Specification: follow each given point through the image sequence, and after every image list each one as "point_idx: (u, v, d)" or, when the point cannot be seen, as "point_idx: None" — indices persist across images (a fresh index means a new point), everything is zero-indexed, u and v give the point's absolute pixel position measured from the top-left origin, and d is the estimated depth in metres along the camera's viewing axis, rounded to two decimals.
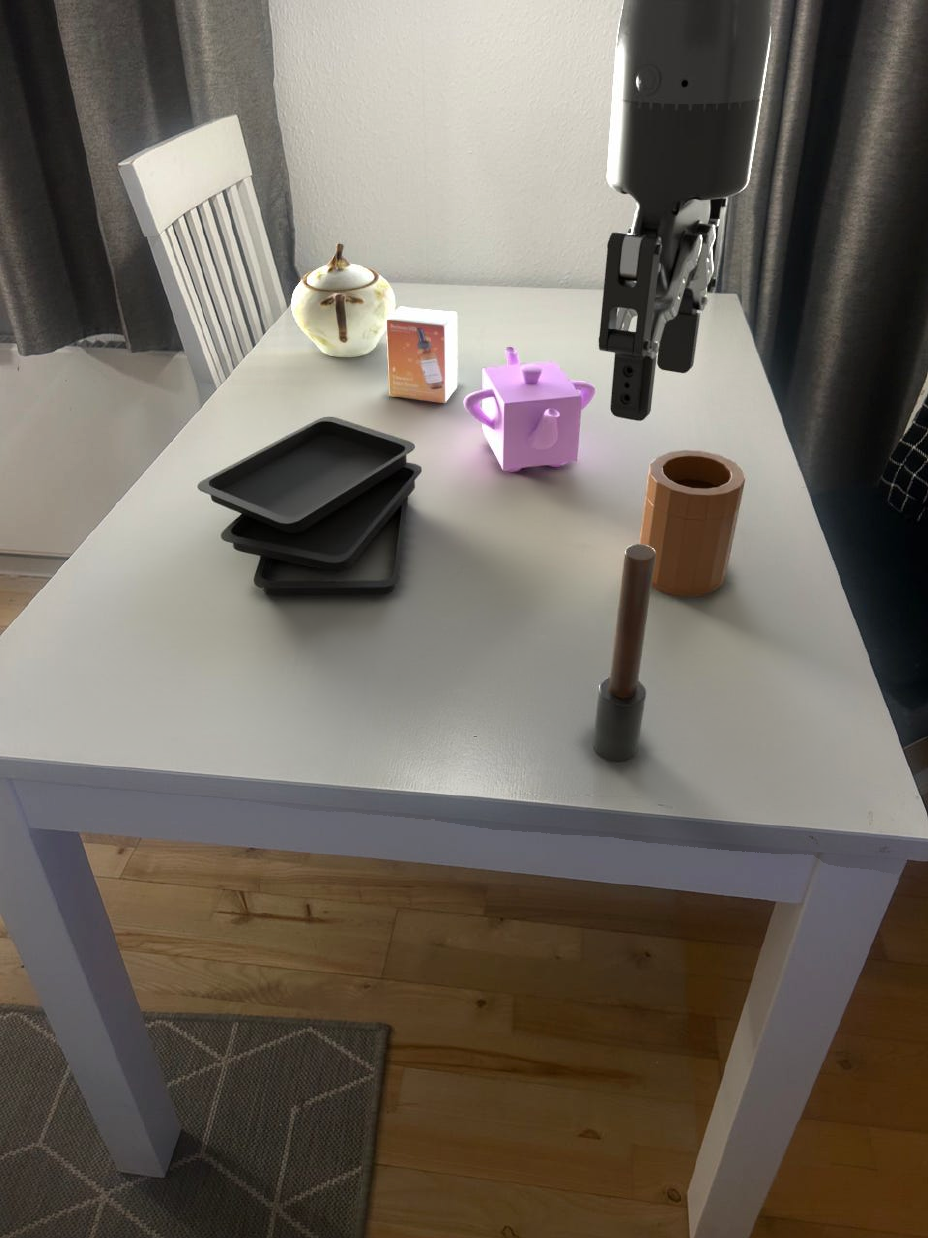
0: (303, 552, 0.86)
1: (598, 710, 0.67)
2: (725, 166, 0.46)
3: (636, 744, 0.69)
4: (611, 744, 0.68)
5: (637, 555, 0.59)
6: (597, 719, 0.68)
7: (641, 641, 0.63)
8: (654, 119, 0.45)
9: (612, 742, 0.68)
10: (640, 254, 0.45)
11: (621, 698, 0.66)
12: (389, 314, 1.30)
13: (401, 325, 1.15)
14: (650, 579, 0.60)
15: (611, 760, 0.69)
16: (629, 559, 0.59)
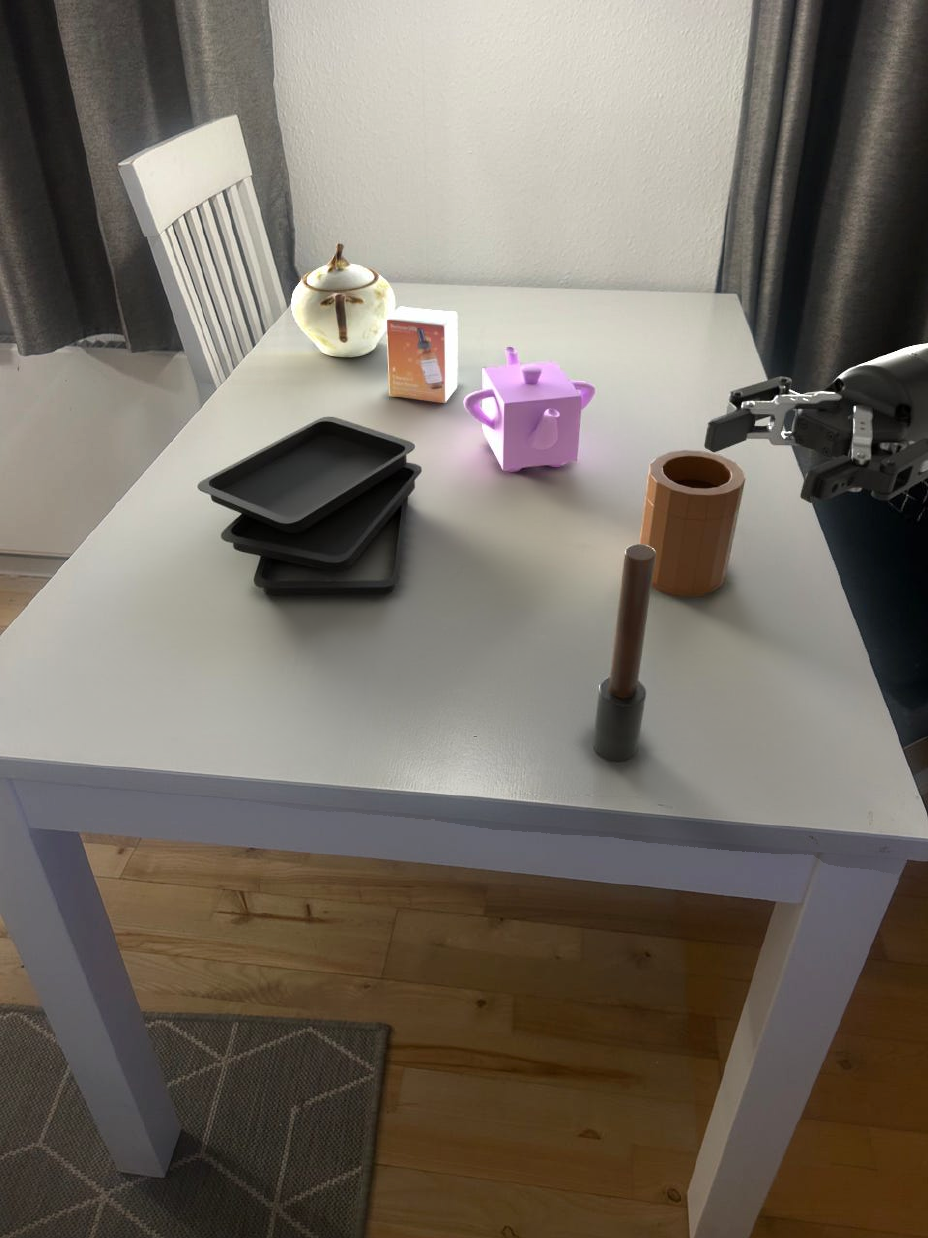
0: (303, 552, 0.86)
1: (598, 710, 0.67)
2: None
3: (636, 744, 0.69)
4: (611, 744, 0.68)
5: (637, 555, 0.59)
6: (597, 719, 0.68)
7: (641, 641, 0.63)
8: None
9: (612, 742, 0.68)
10: None
11: (621, 698, 0.66)
12: (389, 314, 1.30)
13: (402, 325, 1.15)
14: (650, 579, 0.60)
15: (611, 760, 0.69)
16: (629, 559, 0.59)
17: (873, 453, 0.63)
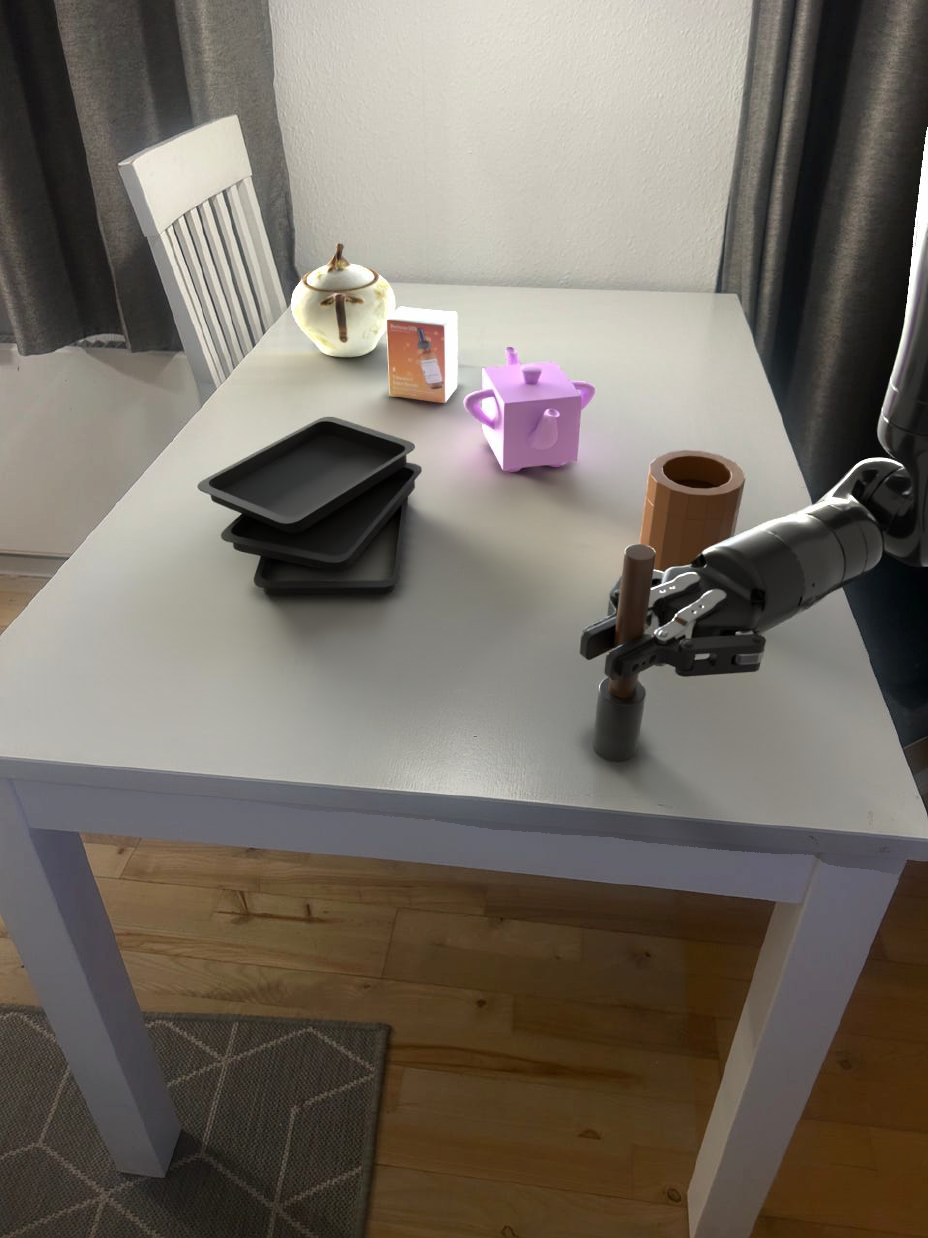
0: (303, 552, 0.86)
1: (598, 710, 0.67)
2: (724, 541, 0.68)
3: (636, 744, 0.69)
4: (611, 743, 0.68)
5: (637, 555, 0.59)
6: (597, 719, 0.68)
7: None
8: None
9: (612, 742, 0.68)
10: None
11: (621, 697, 0.66)
12: (389, 314, 1.30)
13: (402, 325, 1.15)
14: (650, 579, 0.60)
15: (611, 760, 0.69)
16: (629, 558, 0.59)
17: None
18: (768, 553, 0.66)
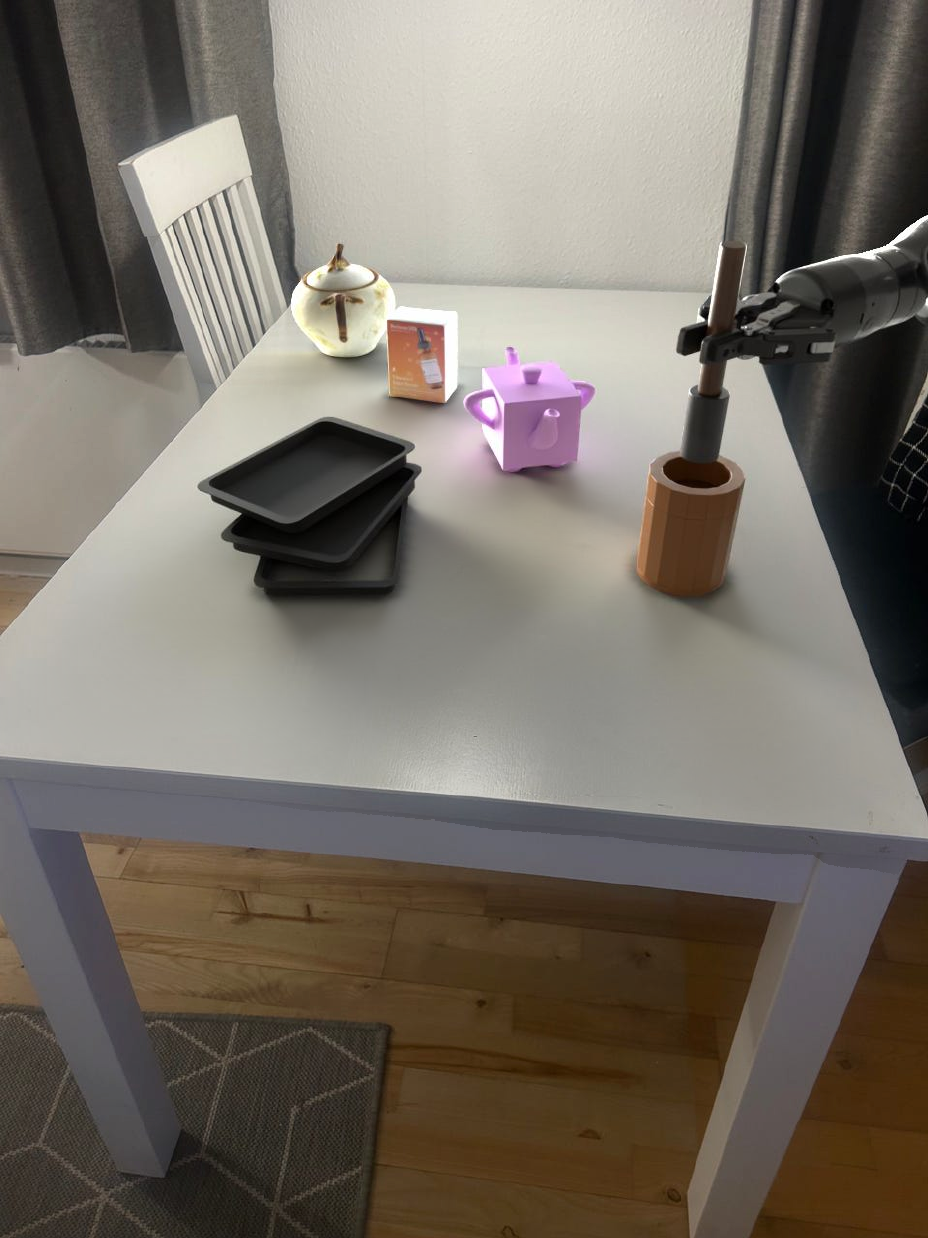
0: (303, 552, 0.86)
1: (687, 412, 0.78)
2: None
3: (719, 446, 0.80)
4: (698, 442, 0.79)
5: (731, 245, 0.70)
6: (686, 422, 0.79)
7: None
8: None
9: (700, 441, 0.79)
10: None
11: (709, 395, 0.77)
12: (389, 314, 1.30)
13: (402, 325, 1.15)
14: (741, 269, 0.71)
15: (697, 460, 0.80)
16: (724, 248, 0.70)
17: None
18: (835, 272, 0.77)
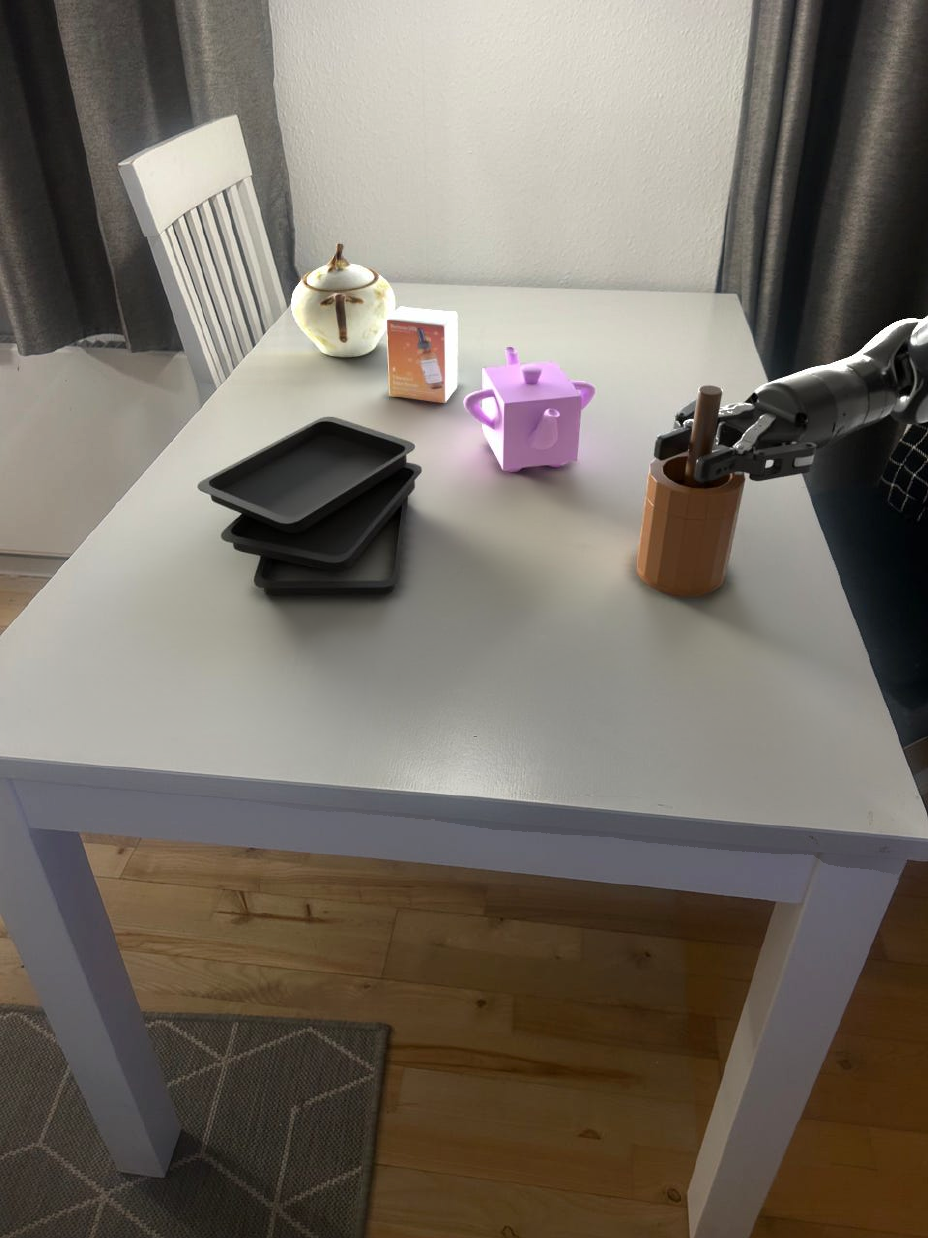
0: (303, 552, 0.86)
1: None
2: (772, 381, 0.85)
3: None
4: None
5: (708, 391, 0.77)
6: None
7: None
8: None
9: None
10: None
11: None
12: (389, 314, 1.30)
13: (402, 325, 1.15)
14: (717, 411, 0.78)
15: None
16: (702, 394, 0.77)
17: None
18: (809, 386, 0.83)
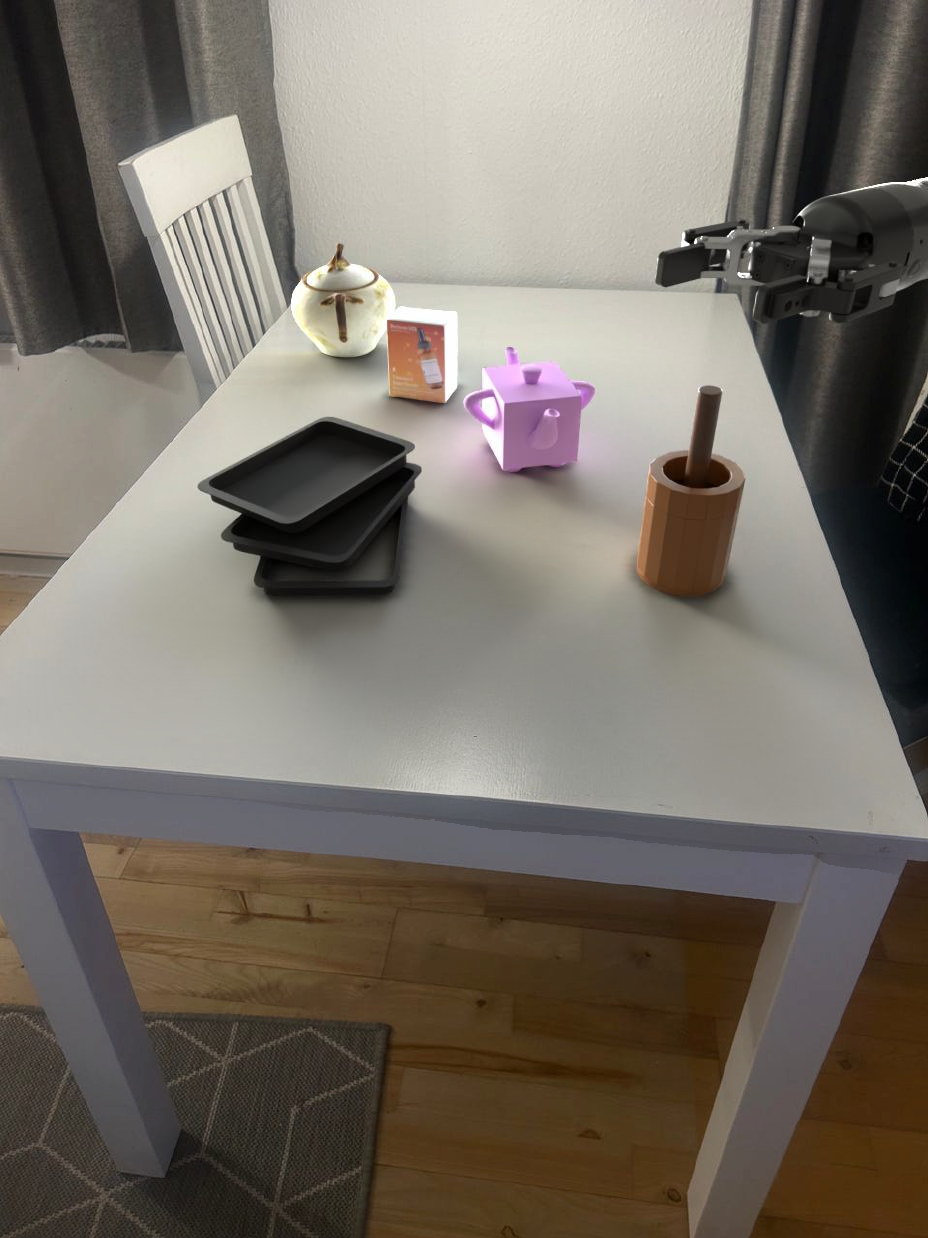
0: (303, 552, 0.86)
1: None
2: None
3: None
4: None
5: (708, 391, 0.77)
6: None
7: (707, 466, 0.81)
8: None
9: None
10: None
11: None
12: (389, 314, 1.30)
13: (401, 325, 1.15)
14: (717, 411, 0.78)
15: None
16: (702, 394, 0.77)
17: None
18: (875, 199, 0.61)
